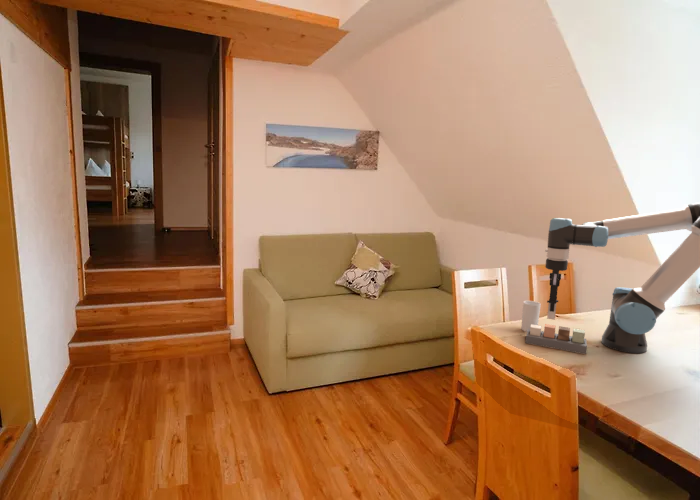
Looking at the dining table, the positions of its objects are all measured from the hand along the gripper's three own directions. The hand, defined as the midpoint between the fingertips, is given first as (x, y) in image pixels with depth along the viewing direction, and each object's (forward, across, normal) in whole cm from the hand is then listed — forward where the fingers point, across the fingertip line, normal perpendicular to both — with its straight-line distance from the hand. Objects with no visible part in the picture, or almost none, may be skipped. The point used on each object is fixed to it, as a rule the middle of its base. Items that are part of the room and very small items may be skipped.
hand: (551, 318), depth 168 cm
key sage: (+7, 0, +10) cm, 12 cm away
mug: (+10, -14, -8) cm, 19 cm away
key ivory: (+8, 0, -5) cm, 10 cm away
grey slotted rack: (+10, 0, +2) cm, 10 cm away
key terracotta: (+7, 0, 0) cm, 7 cm away
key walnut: (+7, 0, +5) cm, 9 cm away
